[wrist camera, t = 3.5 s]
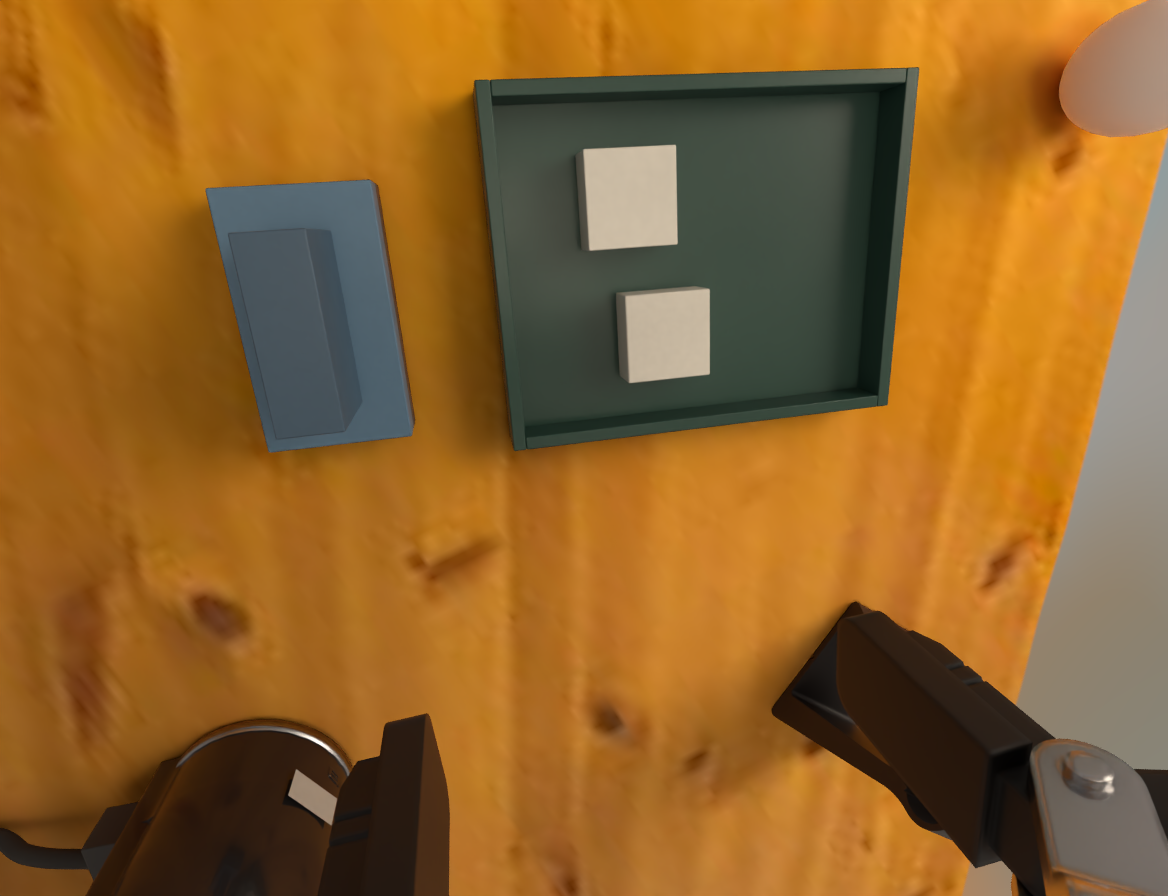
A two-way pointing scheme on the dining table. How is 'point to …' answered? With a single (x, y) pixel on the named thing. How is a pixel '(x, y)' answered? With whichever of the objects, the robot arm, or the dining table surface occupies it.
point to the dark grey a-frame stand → (842, 724)
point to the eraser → (315, 311)
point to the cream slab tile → (627, 197)
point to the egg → (1121, 74)
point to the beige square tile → (663, 333)
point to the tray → (700, 244)
